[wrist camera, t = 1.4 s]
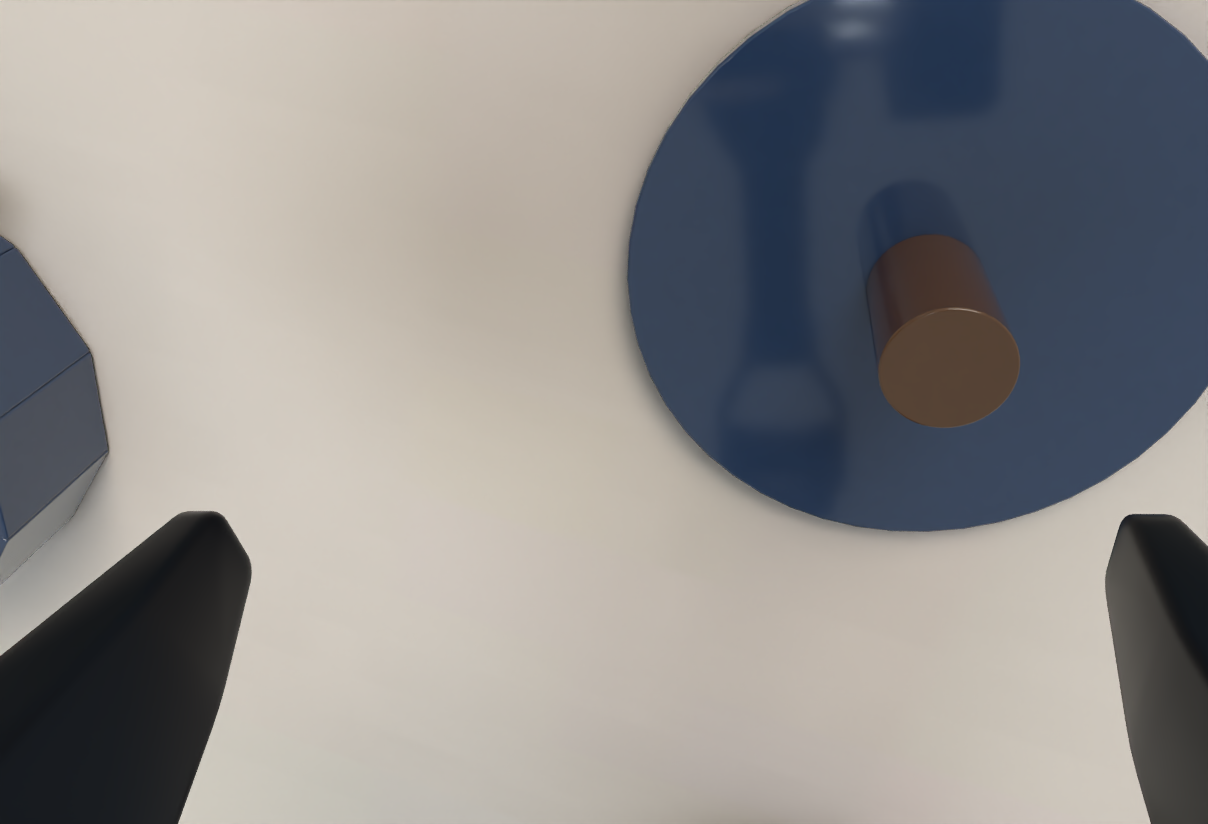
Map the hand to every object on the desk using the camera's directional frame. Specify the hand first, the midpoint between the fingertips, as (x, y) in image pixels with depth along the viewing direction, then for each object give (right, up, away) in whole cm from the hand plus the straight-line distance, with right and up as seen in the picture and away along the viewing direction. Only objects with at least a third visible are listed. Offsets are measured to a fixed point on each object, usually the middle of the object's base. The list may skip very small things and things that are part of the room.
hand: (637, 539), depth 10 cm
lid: (+7, +4, +13) cm, 15 cm away
